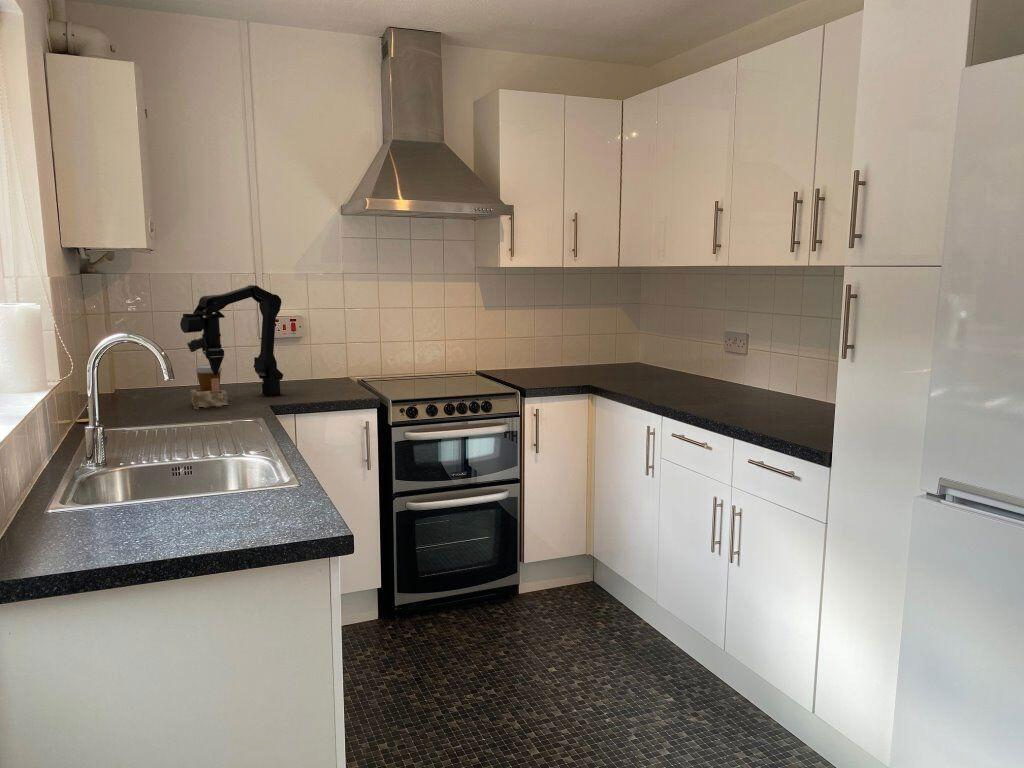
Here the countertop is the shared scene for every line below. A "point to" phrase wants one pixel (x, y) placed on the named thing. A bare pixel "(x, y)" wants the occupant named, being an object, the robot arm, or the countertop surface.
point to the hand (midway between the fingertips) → (214, 372)
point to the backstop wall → (195, 399)
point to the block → (212, 398)
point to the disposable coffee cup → (206, 377)
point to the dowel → (215, 385)
